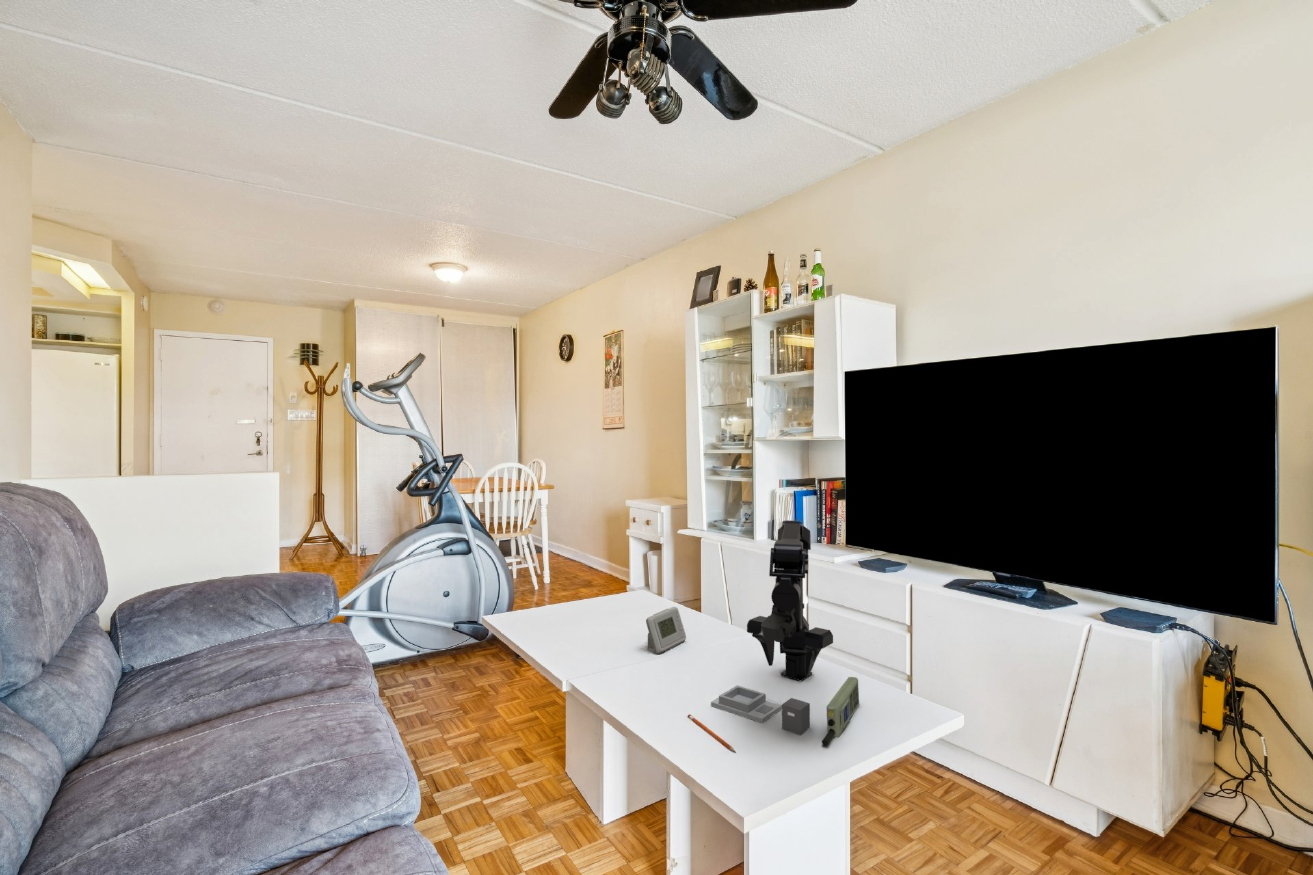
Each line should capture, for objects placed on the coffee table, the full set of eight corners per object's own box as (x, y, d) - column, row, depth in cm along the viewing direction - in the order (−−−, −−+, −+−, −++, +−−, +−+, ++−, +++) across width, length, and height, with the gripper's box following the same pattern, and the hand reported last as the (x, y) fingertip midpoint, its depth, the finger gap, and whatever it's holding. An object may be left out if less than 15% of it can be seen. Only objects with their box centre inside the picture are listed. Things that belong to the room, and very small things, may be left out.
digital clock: (657, 656, 180) (656, 620, 180) (636, 648, 186) (636, 614, 186) (694, 643, 191) (693, 609, 191) (673, 636, 197) (673, 604, 198)
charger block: (791, 722, 137) (791, 697, 137) (809, 727, 134) (809, 703, 134) (781, 729, 134) (781, 704, 134) (800, 735, 131) (800, 710, 131)
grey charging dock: (731, 693, 153) (731, 682, 153) (781, 709, 144) (781, 697, 144) (711, 705, 146) (711, 694, 146) (762, 723, 137) (762, 710, 137)
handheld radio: (861, 705, 146) (833, 751, 125) (847, 703, 148) (817, 747, 126) (860, 677, 146) (831, 718, 125) (846, 675, 148) (816, 715, 127)
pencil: (690, 717, 140) (690, 713, 140) (738, 754, 124) (738, 750, 124) (687, 718, 140) (687, 714, 140) (734, 755, 123) (734, 751, 123)
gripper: (733, 599, 136) (733, 670, 135) (810, 614, 123) (810, 691, 123) (759, 591, 144) (759, 657, 144) (834, 604, 132) (834, 676, 131)
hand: (788, 670), depth 135 cm, fingers open, 9 cm apart
